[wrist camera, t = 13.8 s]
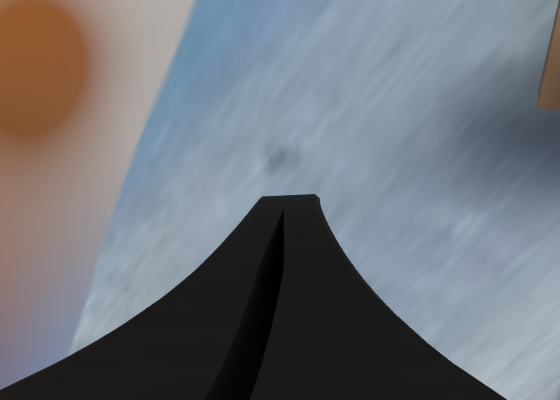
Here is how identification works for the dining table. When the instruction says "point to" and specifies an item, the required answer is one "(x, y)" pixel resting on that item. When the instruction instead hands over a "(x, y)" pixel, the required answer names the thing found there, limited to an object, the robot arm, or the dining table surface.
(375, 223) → the dining table surface
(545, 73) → the domino
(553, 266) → the dining table surface
